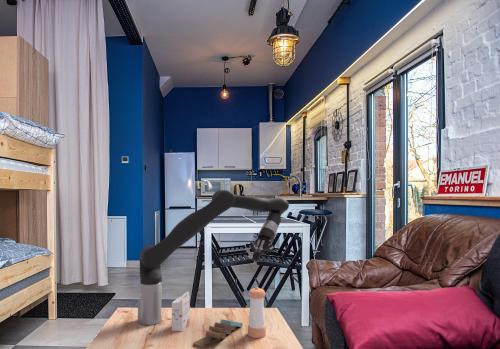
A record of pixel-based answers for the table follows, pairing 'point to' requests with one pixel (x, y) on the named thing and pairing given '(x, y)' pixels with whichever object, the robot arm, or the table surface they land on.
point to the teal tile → (231, 323)
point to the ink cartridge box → (180, 313)
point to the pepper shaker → (256, 313)
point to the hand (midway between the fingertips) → (254, 260)
